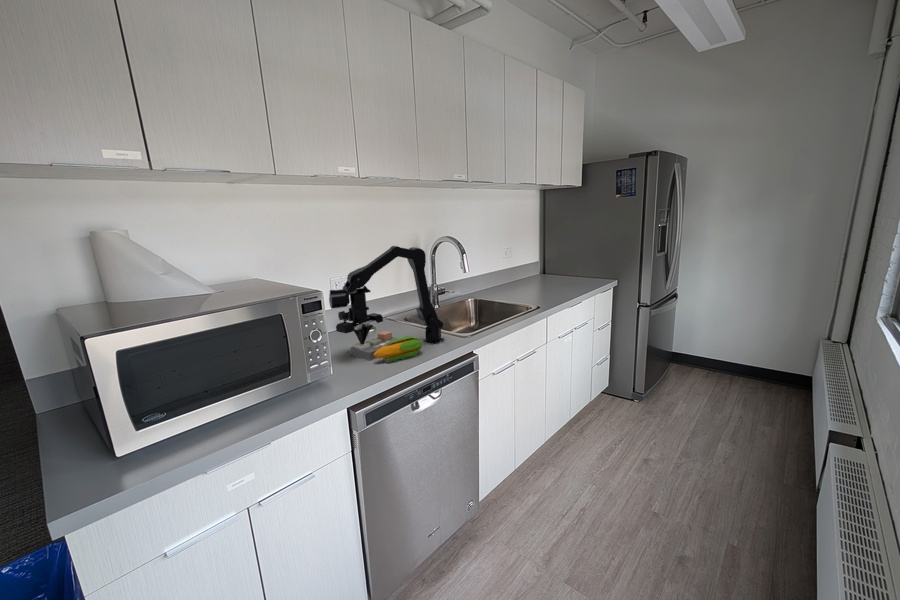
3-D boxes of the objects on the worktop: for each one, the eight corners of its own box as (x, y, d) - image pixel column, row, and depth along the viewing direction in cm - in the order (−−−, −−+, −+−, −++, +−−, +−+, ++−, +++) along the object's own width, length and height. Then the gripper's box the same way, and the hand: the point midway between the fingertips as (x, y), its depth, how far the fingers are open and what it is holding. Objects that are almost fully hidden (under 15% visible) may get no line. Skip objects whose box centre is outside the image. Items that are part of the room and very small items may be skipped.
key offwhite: (363, 350, 159) (362, 341, 158) (370, 351, 156) (369, 343, 156) (355, 353, 156) (354, 344, 155) (362, 355, 153) (361, 346, 152)
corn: (425, 335, 152) (377, 346, 141) (427, 354, 153) (379, 367, 142) (416, 331, 158) (368, 342, 147) (417, 350, 159) (371, 362, 148)
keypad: (384, 341, 170) (384, 334, 169) (403, 346, 163) (403, 338, 162) (351, 354, 156) (350, 346, 155) (370, 360, 149) (369, 352, 149)
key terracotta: (385, 338, 168) (384, 330, 167) (392, 340, 165) (391, 332, 165) (377, 341, 165) (377, 333, 164) (385, 343, 162) (384, 335, 161)
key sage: (374, 346, 164) (374, 338, 163) (382, 348, 161) (381, 339, 160) (367, 349, 160) (366, 340, 160) (374, 351, 158) (373, 342, 157)
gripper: (363, 297, 164) (366, 334, 167) (324, 307, 149) (329, 347, 153) (382, 300, 157) (385, 338, 161) (343, 311, 143) (348, 352, 146)
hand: (362, 344), depth 155 cm, fingers closed, pressing on key offwhite
